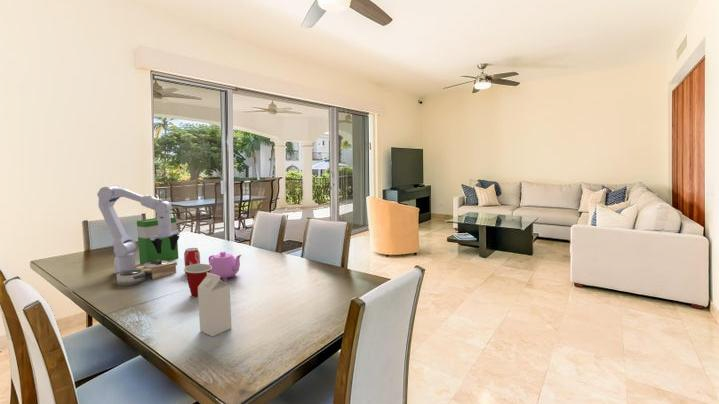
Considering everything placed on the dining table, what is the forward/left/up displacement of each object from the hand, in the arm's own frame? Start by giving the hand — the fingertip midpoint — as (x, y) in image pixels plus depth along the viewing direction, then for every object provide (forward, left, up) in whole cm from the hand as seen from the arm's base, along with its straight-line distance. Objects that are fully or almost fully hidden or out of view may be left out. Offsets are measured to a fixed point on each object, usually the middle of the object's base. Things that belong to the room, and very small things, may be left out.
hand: (166, 251), depth 178 cm
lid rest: (-1, -5, -10) cm, 12 cm away
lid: (-1, -5, -6) cm, 8 cm away
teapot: (+34, +5, -11) cm, 36 cm away
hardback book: (-22, +11, -11) cm, 27 cm away
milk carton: (+72, -36, -11) cm, 81 cm away
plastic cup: (+41, -16, -11) cm, 45 cm away
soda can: (+13, +4, -11) cm, 17 cm away
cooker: (-1, -18, -10) cm, 21 cm away
